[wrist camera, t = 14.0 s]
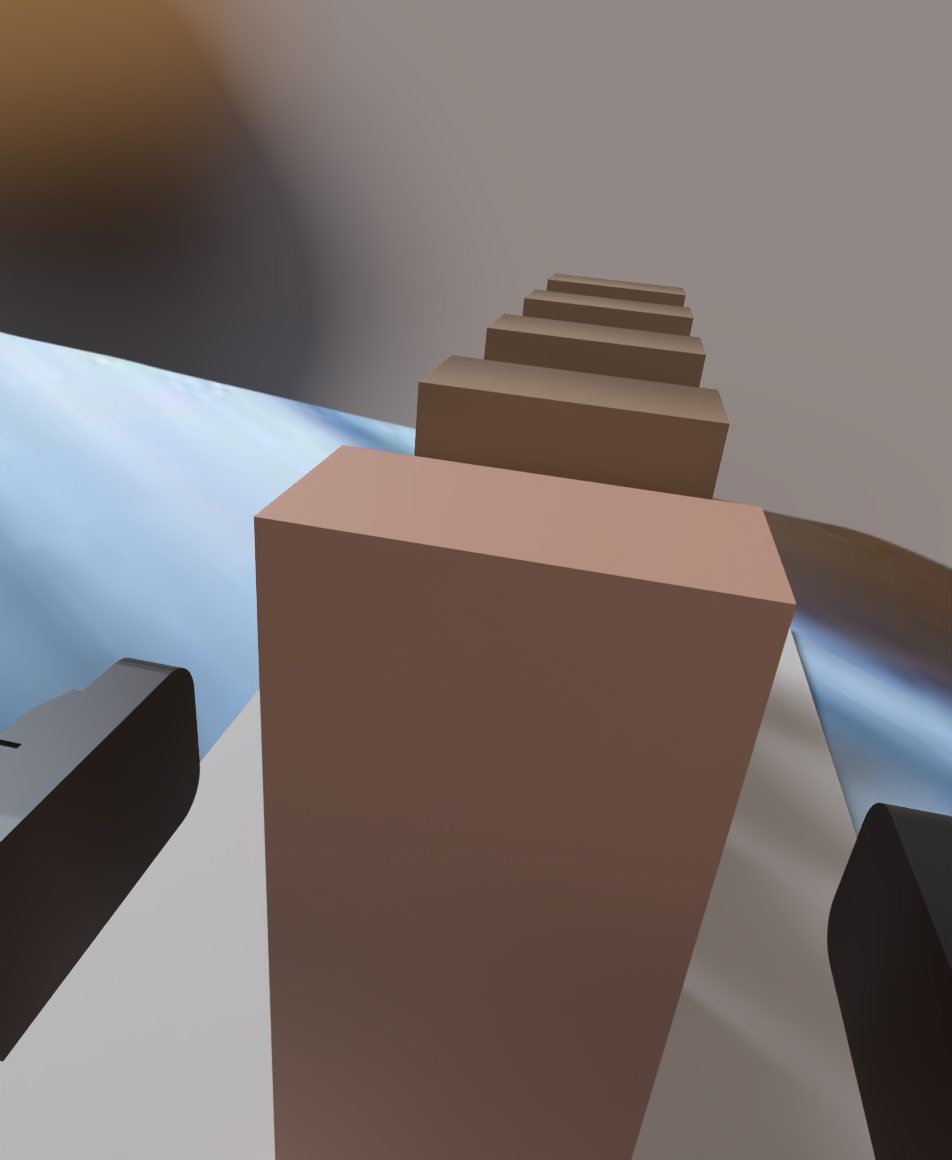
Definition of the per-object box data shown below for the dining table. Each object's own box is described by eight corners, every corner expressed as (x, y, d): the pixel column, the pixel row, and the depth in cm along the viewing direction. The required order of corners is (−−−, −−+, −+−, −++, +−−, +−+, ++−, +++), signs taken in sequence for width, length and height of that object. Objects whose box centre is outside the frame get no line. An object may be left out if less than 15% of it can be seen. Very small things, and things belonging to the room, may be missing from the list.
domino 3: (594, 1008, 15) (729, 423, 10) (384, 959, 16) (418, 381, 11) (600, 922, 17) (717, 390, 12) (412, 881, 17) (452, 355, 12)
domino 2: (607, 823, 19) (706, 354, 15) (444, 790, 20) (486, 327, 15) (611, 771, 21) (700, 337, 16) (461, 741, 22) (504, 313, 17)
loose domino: (573, 1357, 10) (795, 604, 6) (278, 1271, 11) (253, 515, 6) (583, 1189, 12) (760, 507, 7) (330, 1122, 13) (342, 446, 8)
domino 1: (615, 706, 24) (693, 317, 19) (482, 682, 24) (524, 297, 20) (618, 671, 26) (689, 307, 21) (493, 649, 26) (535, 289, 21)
